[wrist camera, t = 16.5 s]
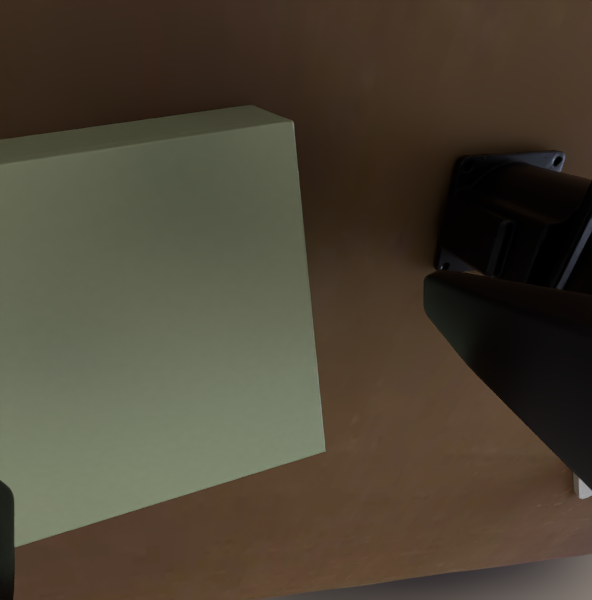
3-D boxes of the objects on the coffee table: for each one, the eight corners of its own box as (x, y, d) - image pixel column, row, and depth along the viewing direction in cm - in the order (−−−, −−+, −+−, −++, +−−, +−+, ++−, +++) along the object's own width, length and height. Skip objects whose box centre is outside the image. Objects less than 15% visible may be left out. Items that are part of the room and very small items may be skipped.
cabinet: (-8, 440, 20) (-77, 576, 15) (-231, 171, 13) (-540, 245, 7) (290, 362, 23) (325, 451, 18) (252, 104, 16) (294, 120, 10)
